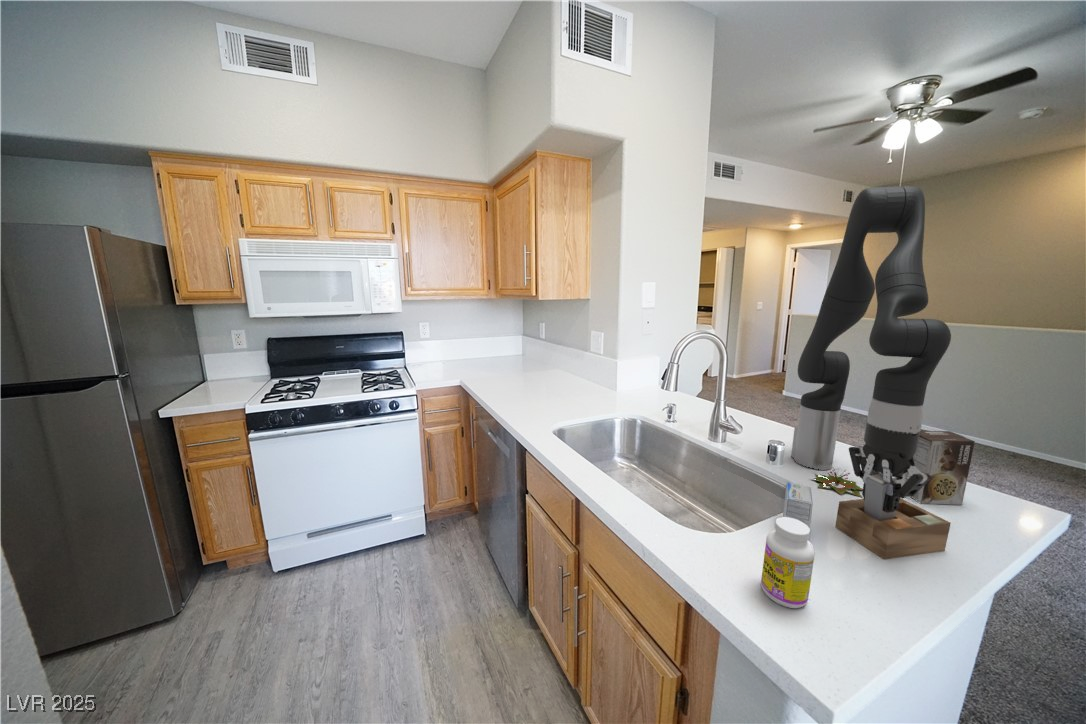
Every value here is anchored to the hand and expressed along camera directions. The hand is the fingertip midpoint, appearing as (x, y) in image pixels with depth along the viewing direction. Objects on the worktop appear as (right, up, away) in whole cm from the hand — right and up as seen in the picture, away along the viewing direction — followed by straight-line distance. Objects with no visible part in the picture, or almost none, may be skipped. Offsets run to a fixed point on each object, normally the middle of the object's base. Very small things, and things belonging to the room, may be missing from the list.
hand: (878, 505), depth 74 cm
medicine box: (-13, -7, +5) cm, 16 cm away
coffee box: (+27, -5, +17) cm, 32 cm away
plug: (+1, -4, +1) cm, 4 cm away
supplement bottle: (-27, -10, -12) cm, 31 cm away
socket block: (+4, -7, +2) cm, 8 cm away
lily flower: (+10, -4, +23) cm, 25 cm away
